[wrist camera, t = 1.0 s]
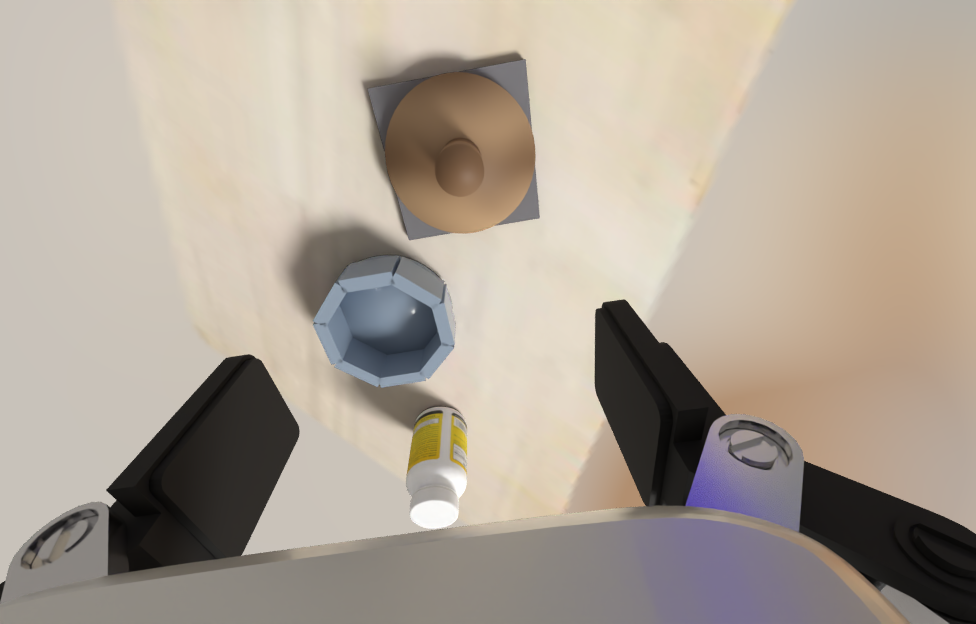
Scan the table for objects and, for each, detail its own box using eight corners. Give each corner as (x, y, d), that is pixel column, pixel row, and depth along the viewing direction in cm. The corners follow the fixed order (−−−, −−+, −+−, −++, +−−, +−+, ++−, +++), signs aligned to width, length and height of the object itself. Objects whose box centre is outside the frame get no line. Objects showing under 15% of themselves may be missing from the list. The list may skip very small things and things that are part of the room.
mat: (369, 88, 24) (367, 88, 23) (524, 60, 24) (525, 59, 23) (410, 237, 29) (408, 240, 28) (538, 215, 28) (539, 218, 28)
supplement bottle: (408, 435, 39) (392, 528, 31) (423, 398, 37) (410, 488, 28) (457, 446, 41) (454, 538, 32) (474, 411, 38) (476, 501, 30)
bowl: (315, 265, 30) (295, 287, 26) (438, 244, 29) (434, 264, 26) (357, 363, 35) (344, 393, 31) (462, 347, 34) (462, 374, 31)
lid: (367, 88, 23) (343, 85, 19) (525, 59, 23) (539, 49, 18) (409, 240, 28) (397, 266, 24) (539, 218, 28) (553, 241, 23)
